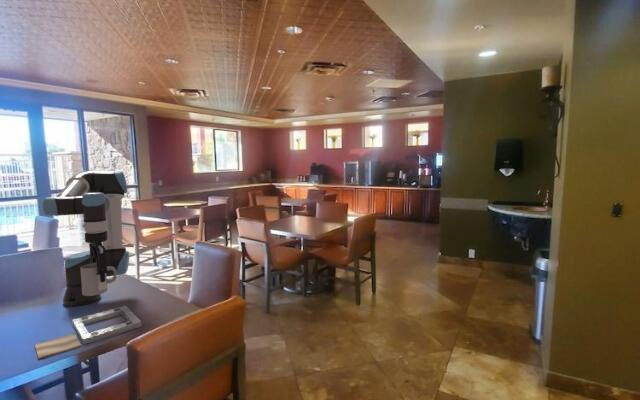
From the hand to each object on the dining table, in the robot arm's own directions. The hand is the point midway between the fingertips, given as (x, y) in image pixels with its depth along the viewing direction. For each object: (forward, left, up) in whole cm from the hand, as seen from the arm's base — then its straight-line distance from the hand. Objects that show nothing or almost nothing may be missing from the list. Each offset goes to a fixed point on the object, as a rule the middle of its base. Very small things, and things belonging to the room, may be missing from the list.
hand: (99, 286), depth 136 cm
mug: (0, 0, -2) cm, 2 cm away
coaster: (+5, -15, -17) cm, 24 cm away
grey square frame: (-1, +2, -17) cm, 18 cm away
